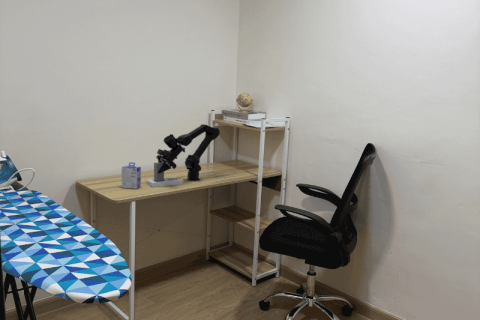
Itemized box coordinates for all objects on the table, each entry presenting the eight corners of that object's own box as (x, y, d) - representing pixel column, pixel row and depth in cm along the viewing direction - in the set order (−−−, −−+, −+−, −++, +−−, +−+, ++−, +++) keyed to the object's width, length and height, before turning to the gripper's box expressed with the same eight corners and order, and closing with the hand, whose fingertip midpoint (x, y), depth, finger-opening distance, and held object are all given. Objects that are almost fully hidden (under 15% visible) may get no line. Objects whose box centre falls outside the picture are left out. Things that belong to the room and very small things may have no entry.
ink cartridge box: (141, 187, 242) (141, 162, 239) (137, 189, 237) (137, 164, 234) (125, 185, 244) (125, 161, 241) (121, 187, 238) (120, 163, 236)
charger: (161, 181, 253) (161, 161, 250) (163, 183, 249) (164, 163, 247) (154, 182, 250) (154, 162, 248) (156, 184, 246) (156, 163, 244)
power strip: (176, 180, 261) (176, 175, 260) (183, 183, 254) (183, 178, 253) (146, 183, 250) (146, 178, 249) (152, 187, 243) (152, 182, 242)
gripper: (159, 141, 255) (142, 160, 251) (171, 146, 240) (153, 166, 236) (170, 153, 261) (154, 172, 257) (184, 159, 245) (166, 178, 241)
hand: (156, 172), depth 247 cm, fingers closed on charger, 4 cm apart
